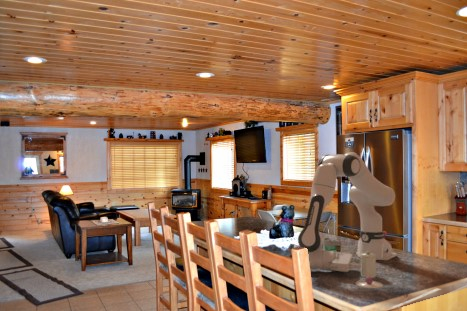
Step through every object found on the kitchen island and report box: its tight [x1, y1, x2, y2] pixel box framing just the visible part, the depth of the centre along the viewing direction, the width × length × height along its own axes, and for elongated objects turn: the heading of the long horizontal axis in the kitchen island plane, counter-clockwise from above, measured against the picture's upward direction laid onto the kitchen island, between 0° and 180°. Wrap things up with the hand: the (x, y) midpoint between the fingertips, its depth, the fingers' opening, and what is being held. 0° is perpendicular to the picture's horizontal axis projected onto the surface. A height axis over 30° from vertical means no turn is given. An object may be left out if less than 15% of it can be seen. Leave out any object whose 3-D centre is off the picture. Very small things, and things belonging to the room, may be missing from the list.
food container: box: [323, 237, 343, 252], centre depth 217 cm, size 12×6×10 cm, turn 21°
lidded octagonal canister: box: [360, 251, 377, 279], centre depth 182 cm, size 6×6×11 cm
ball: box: [364, 277, 374, 284], centre depth 170 cm, size 3×3×3 cm
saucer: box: [354, 279, 384, 289], centre depth 170 cm, size 11×11×1 cm
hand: (361, 263), depth 183 cm, fingers open, 8 cm apart
